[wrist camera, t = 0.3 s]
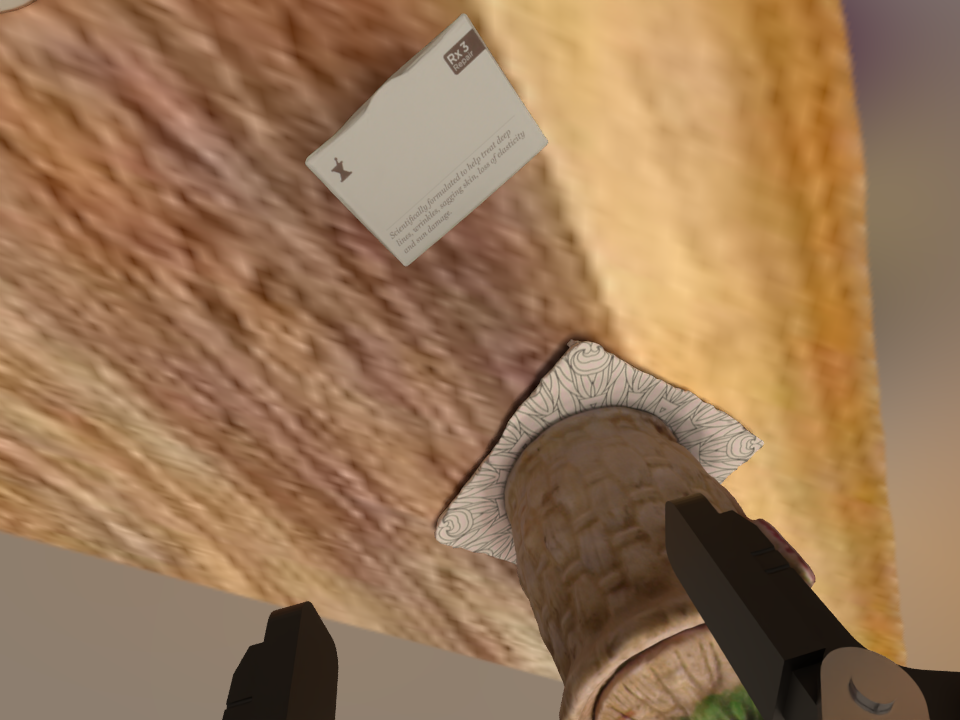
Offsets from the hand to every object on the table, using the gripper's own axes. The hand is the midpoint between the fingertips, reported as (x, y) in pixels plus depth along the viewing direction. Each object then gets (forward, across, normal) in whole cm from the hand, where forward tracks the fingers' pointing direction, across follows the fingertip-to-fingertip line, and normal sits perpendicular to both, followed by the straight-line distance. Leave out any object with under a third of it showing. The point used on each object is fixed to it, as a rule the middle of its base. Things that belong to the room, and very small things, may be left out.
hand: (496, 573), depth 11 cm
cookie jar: (+29, -11, +27) cm, 41 cm away
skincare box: (+29, -1, -7) cm, 30 cm away
